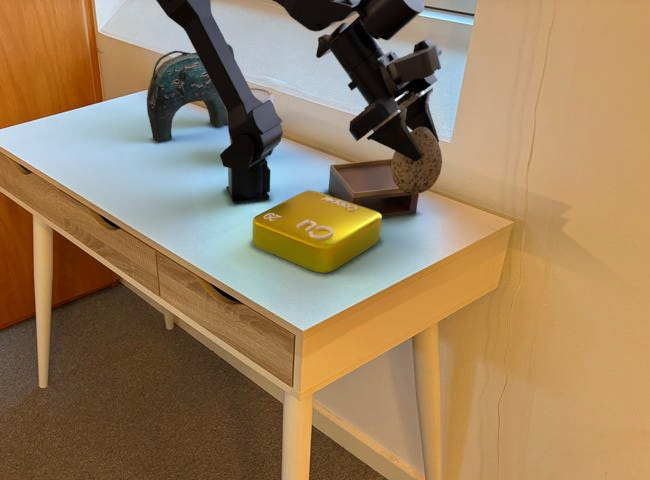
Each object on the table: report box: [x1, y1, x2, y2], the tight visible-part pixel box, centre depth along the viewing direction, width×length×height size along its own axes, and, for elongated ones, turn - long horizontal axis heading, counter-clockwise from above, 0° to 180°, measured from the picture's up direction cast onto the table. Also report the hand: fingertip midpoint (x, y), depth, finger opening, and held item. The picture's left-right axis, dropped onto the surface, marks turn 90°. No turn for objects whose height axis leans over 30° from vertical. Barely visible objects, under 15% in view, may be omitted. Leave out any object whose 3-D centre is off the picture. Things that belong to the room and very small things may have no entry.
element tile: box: [252, 189, 383, 274], centre depth 110 cm, size 15×15×5 cm
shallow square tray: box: [328, 157, 420, 218], centre depth 120 cm, size 11×12×5 cm
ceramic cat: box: [146, 33, 235, 143], centre depth 147 cm, size 20×6×20 cm, turn 122°
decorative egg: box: [391, 127, 443, 195], centre depth 106 cm, size 7×7×10 cm
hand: (427, 151), depth 104 cm, fingers closed on decorative egg, 6 cm apart
